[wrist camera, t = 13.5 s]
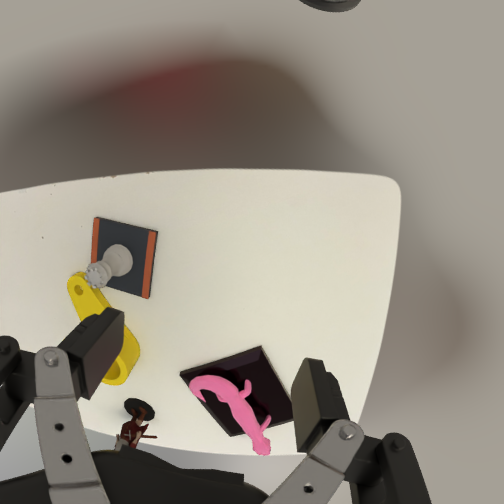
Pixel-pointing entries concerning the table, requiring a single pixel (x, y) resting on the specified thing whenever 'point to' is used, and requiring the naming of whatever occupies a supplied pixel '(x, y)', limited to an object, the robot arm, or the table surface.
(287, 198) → the table surface
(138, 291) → the mat
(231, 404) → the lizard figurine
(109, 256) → the rook chess piece
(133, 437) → the figurine
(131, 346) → the crank
